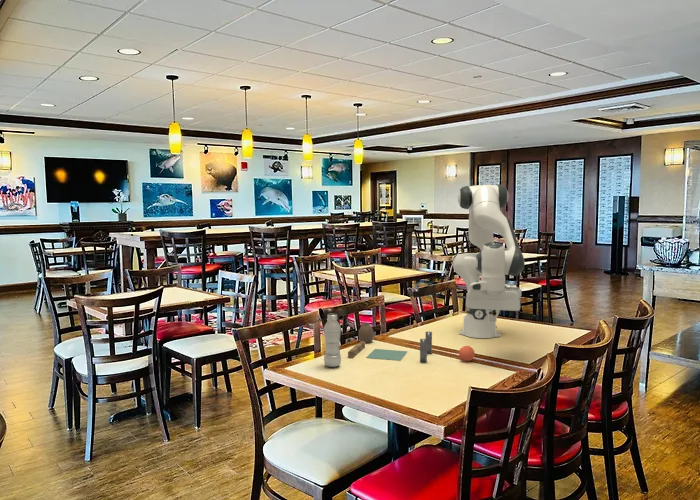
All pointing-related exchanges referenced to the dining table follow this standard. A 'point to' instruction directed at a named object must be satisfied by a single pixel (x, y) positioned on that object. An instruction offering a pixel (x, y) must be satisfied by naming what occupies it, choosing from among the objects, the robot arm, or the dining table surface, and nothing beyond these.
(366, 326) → the vase
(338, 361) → the plastic bottle
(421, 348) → the post
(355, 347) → the wall
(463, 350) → the ball
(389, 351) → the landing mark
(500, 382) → the dining table surface
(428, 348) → the post
